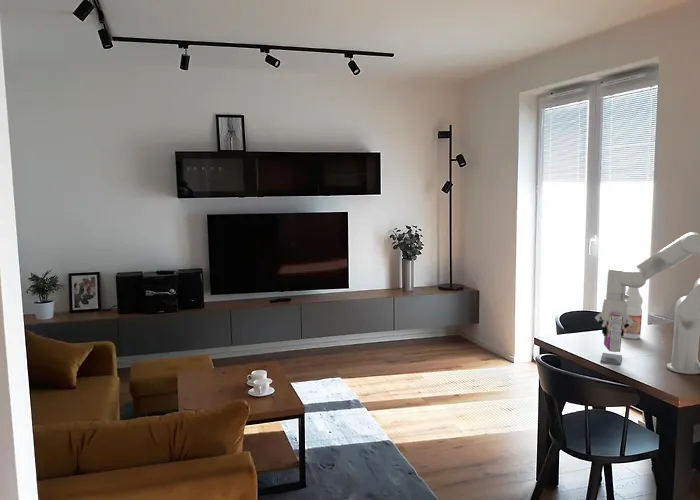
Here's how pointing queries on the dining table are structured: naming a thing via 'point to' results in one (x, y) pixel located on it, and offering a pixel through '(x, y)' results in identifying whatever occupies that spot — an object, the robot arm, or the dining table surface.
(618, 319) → the candy bar box
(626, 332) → the fruit juice
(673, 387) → the dining table surface
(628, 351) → the dining table surface
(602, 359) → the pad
